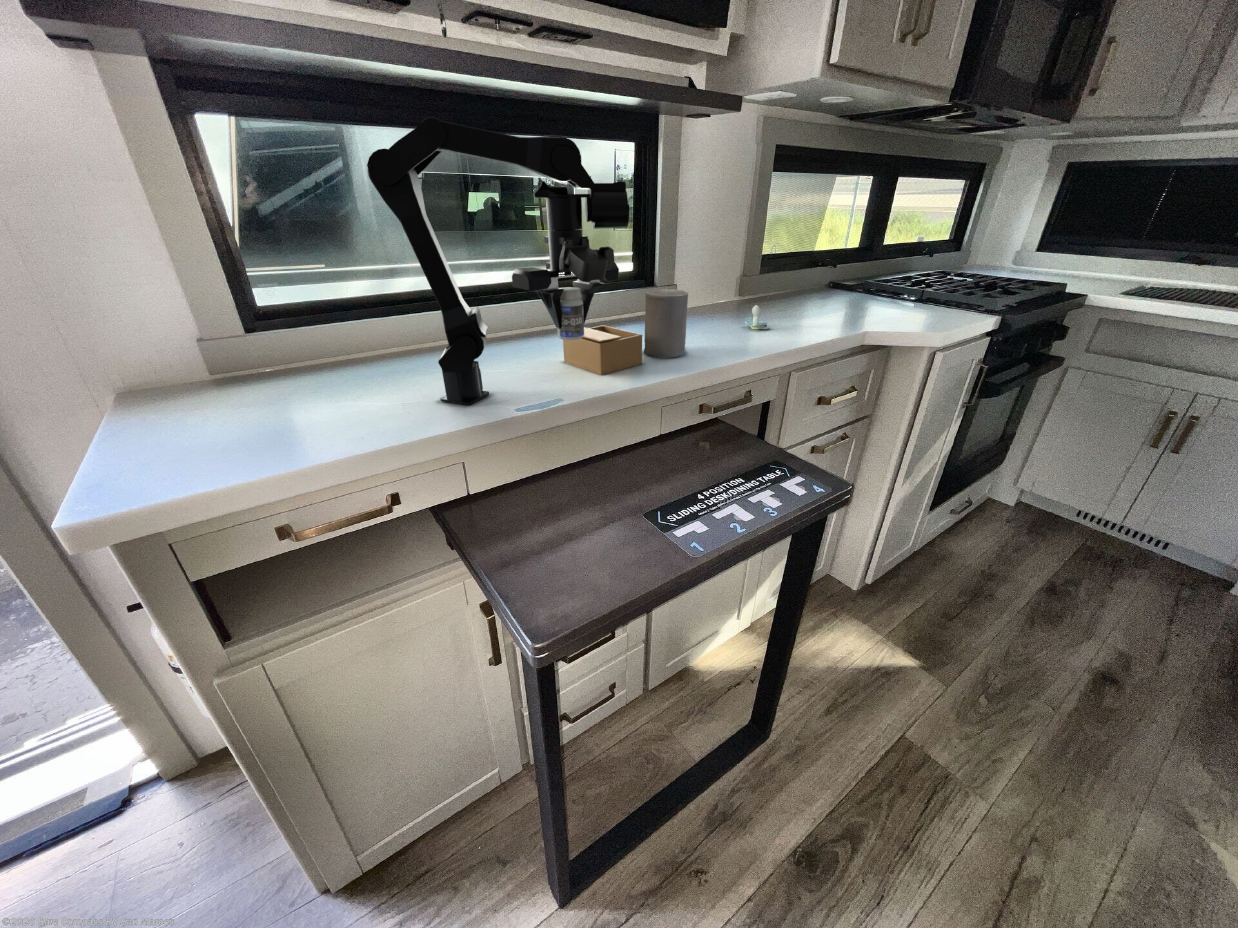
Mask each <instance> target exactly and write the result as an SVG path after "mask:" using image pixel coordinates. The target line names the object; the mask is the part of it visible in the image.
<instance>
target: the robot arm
mask: <svg viewBox="0 0 1238 928" xmlns="http://www.w3.org/2000/svg"><path fill="white" fill-rule="evenodd" d="M443 152H449V153H453V154H457V155H462V156H463V155H464V156H467V157H473V158H477V159H483V160H488V161H493V162H498V163H501V164H502V163H503V164H507V165H512V166H518V167H520V168H522V169H525V170H527V171H529V172H532V173H534V174H536V175H538V176H542V177H544V178H546V179H549V180H551V181H554V182H556V183H568V184H569V185H571V186H572V187H573V188H574V189H576V190H587V193H569V192H568V186H566V185H562V186H558V185H557V186H554V185H553V186H549V185H548V184H547V183H546V182H545V180H542V181H541V183H540V186H539V187H538V189H537V190H536V191H535V192H534V193H533V198H535V199H545V207H546V222H547V224H546V226H547V235H544V236H543V243H544V244H548V253H549V254H548V255H549V262H545V268H540V267H533V266H531V267H522V268H514V271H513V273H512V275H511V284H512V287H513V288H517V289H521V290H526V291H534V292H536V293H537V295H538V297H539V298H540V299H541V301H542V303H543V304H544V306H545V308H546V310H547V312H548V314H549V316H550V318H551V320H552V322H553V324H554V326H555V328H559V329H560V328H561V327H562V316H561V301H560V298H561V295H562V293H563V291H564V289H561V288H562V287H559V282H565V281H566V282H567V281H572V287H576V288H580V291H581V297H580V299H581V300H582V301H583V314H584V324H585V323H586V320H587V316H588V313H589V309H590V307H591V303H592V301H593V298H594V296H595V294H596V292H597V291H598V290H600V288H601V287H605V284H606V283H605V282H601V281H606V282H609V281H616V280H620V268H619V267H618V265H617V263H616V262H615V251H614V248H612V247H611V246H601V247H599V248H598V249H593V248H591V247H590V239H589V236H588V235H584V227H583V204H582V203H583V201H582V200H583V199H584V216H585V221H586V223H591V226H592V228H593V230H595V229H596V230H598V229H599V230H600V229H602V230H605V229H627V228H628V226H629V223H630V204H629V198H628V192H627V182H626V181H615V182H594V180H593V179H592V175H590V174H589V172H588V171H587V170H586V168H585V167H584V165H583V164H582V153H581V150H580V148H579V147H578V145H577V144H576V142H575V141H573V140H572V139H570V138H569V137H565V136H524V137H523V136H516V135H511V134H508V133H507V134H506V133H501V132H497V131H493V130H488V129H484V128H479V127H475V126H470V125H466V124H460V123H456V122H451V121H446V120H443V119H440V118H438V117H437V116H427V117H425V118H423V120H422V121H420V123H419V124H418V125H417V126H416V127H415V128H413V129H412V130H411V131H409V132H408V133H406V134H405V135H404V136H402V137H401V138H399V139H398V140H397V141H395V142H394V143H393V144H392V145H391V146H390V147H389V148H378V149H376V150H375V151H372V153H371V154H370V156H369V157H368V160H367V164H366V172H367V177H368V179H369V180H370V182H371V184H372V185H373V186H374V189H375V190H376V192H377V193H378V194H379V197H381V199H382V200H383V202H384V203H385V204H386V206H387V207H388V208H389V210H390V211H391V213H393V214H394V216H395V217H396V218H397V220H398V221H399V222H400V224H401V226H402V229H403V231H404V233H405V234H406V238H407V239H408V241H409V243H410V246H411V248H412V250H413V252H414V255H415V257H416V259H417V260H418V263H419V266H420V268H421V269H422V272H423V274H424V276H425V278H426V280H427V283H428V285H429V288H430V290H431V291H432V294H433V295H434V296H433V297H434V298H435V300H436V303H437V304H438V306H439V308H440V312H441V316H442V317H441V318H442V322H443V323H442V324H443V329H444V333H445V337H446V340H447V346H446V347H445V348H444V349H443V352H442V353H441V356H440V357H439V359H438V361H437V363H438V365H439V367H440V368H441V373H442V379H443V385H444V390H445V395H443V396H441V397H440V398H439V401H440V402H445V403H452V404H457V405H463V406H470V405H472V404H474V403H476V402H478V401H480V400H481V399H484V398H485V397H487V396H489V395H490V391H489V390H484V386H483V379H482V372H481V368H480V363H479V361H478V360H477V359H479V358H480V357H481V356H482V354H483V352H484V350H485V346H486V342H487V332H488V328H489V327H488V326H487V325H486V324H485V322H484V321H483V318H482V314H481V310H480V307H479V306H476V307H475V308H470V306H469V305H468V304H467V302H466V301H465V300H464V298H463V295H462V293H461V291H460V288H459V286H458V284H457V282H456V280H455V277H454V275H453V272H452V270H451V268H450V266H449V264H448V261H447V259H446V256H445V254H444V252H443V250H442V247H441V245H440V243H439V240H438V238H437V236H436V233H435V231H434V229H433V226H432V223H431V222H430V220H429V218H428V215H427V212H426V206H425V201H424V195H423V190H422V187H421V182H420V179H419V175H420V174H421V173H422V172H424V171H425V170H427V168H428V167H429V166H430V165H431V164H432V163H433V162H434V160H435V159H436V158H437V157H438V156H439V155H441V153H443ZM582 198H583V199H582Z"/></svg>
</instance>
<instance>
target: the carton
mask: <svg viewBox="0 0 1238 928" xmlns="http://www.w3.org/2000/svg"><path fill="white" fill-rule="evenodd" d="M589 328H590V329H594V330H598V331H601V332H605V333H609V334H613V335H617V336H621V338H619V339H614V340H609V341H603V342H598V341H595V340H591V339H588V338H584V337H583V338H581V339H578V340H563V339H562V347H563V362H564V363H566V364H568V365H572V366H574V367H577V368H580V369H583V370H585V371H589V372H591V373H594V374H597V375H600V376H602V375H606V374H610V373H613V372H616V371H621V370H624V369H628V368H631V367H634V366H639V365H642V364H643V334H641V333H637V332H633V331H629V330H625V329H621V328H617V327H613V326H608V325H605V324H603V325H598V326H592V327H589Z"/></svg>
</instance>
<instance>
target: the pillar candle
mask: <svg viewBox="0 0 1238 928" xmlns="http://www.w3.org/2000/svg"><path fill="white" fill-rule="evenodd" d="M644 295H645V297H644V298H645V300H644V301H645V303H644V308H645V309H644V349H643V353H644V354H645V355H647V356H649V357H654V358H660V359H661V358H663V359H666V358H667V359H670V358H678V357H682V356H684V355H685V351H686V338H687V320H688V319H687V318H688V304H689V303H688V302H689V292H688V291H685V290H683V289H681V290H680V289H675V288H674V289H671V288H668V286H667V285H666V286H665V288H658V289H657V288H656V289H650V290H646V291H645V294H644Z"/></svg>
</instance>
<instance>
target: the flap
mask: <svg viewBox="0 0 1238 928" xmlns="http://www.w3.org/2000/svg"><path fill="white" fill-rule="evenodd" d="M590 328H591V327H585V326H584V338H588V339H591V340H595V341H598V342H603V341H609V340H614V339H619V338H621V336H617V335H613V334H609V333H605V332H601V331H598V330H594V329H590Z"/></svg>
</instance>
